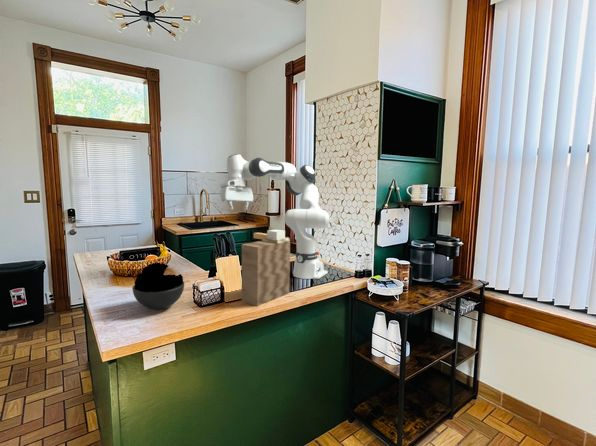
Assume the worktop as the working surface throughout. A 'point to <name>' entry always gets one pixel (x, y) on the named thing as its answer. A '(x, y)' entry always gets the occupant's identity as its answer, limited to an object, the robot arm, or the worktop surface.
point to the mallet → (271, 234)
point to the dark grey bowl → (157, 287)
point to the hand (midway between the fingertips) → (238, 210)
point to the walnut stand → (265, 270)
